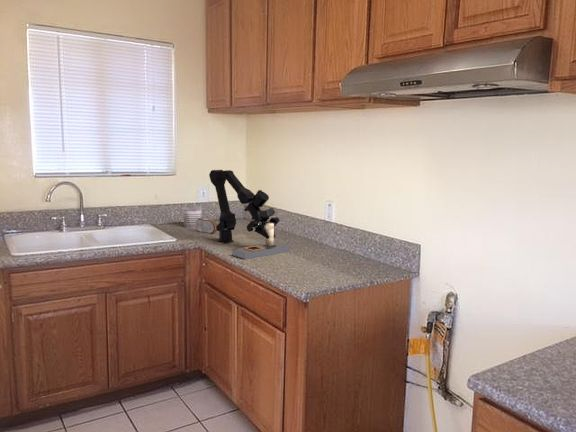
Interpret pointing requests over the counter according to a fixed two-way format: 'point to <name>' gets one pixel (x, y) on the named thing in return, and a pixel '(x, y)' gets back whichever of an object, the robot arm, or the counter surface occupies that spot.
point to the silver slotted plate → (260, 250)
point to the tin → (206, 225)
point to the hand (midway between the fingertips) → (271, 237)
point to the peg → (270, 235)
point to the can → (191, 216)
